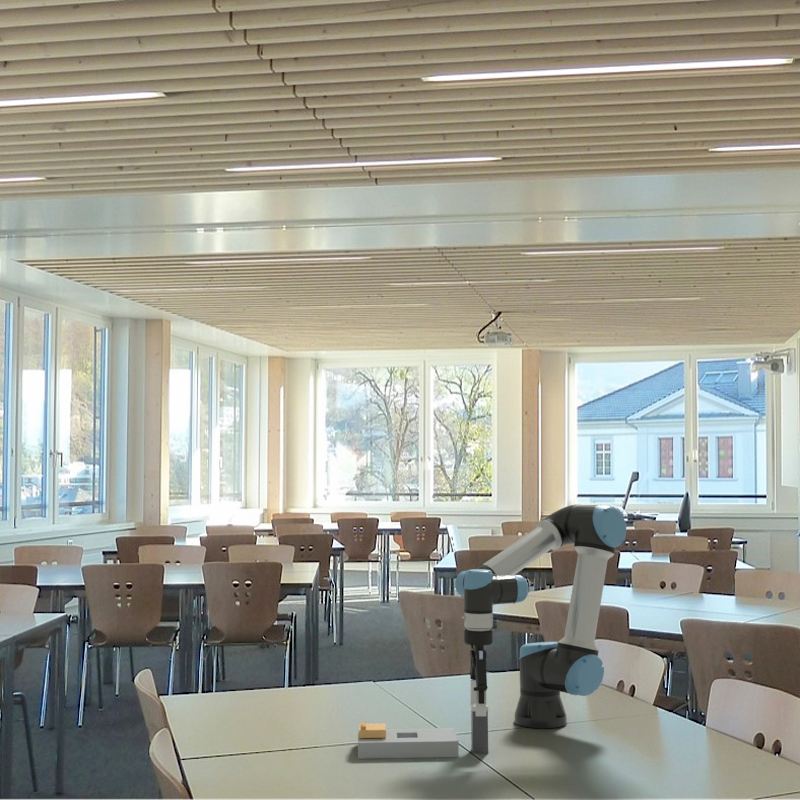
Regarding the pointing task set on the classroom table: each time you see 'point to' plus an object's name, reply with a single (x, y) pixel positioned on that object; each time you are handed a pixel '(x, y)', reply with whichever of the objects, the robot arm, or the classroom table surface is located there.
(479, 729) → the plug
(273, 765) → the classroom table surface
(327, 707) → the classroom table surface
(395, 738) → the socket board
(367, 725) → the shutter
